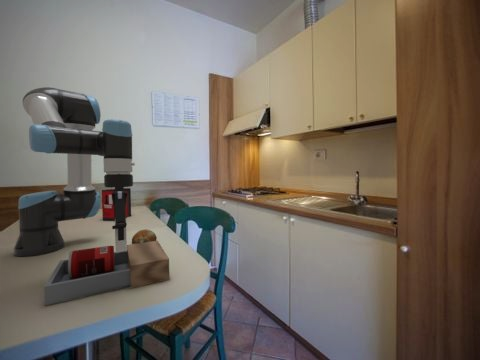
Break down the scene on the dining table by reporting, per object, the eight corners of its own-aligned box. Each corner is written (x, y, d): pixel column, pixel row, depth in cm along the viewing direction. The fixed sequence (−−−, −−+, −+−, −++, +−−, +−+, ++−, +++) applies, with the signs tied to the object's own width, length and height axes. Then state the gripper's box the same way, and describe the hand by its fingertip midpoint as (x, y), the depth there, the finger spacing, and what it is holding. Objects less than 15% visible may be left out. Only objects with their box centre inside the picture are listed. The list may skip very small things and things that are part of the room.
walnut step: (130, 288, 61) (130, 265, 60) (127, 262, 78) (126, 245, 78) (169, 279, 66) (169, 258, 65) (157, 256, 83) (157, 240, 83)
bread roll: (158, 250, 100) (163, 232, 103) (143, 247, 92) (149, 227, 95) (140, 248, 104) (145, 230, 107) (124, 245, 95) (130, 226, 98)
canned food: (113, 245, 75) (72, 251, 70) (113, 244, 68) (68, 250, 63) (114, 270, 73) (72, 278, 68) (114, 271, 66) (67, 280, 61)
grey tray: (44, 305, 53) (44, 286, 53) (60, 275, 69) (60, 260, 68) (130, 286, 62) (130, 270, 61) (127, 263, 77) (127, 250, 77)
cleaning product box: (115, 221, 146) (114, 190, 145) (102, 220, 147) (101, 190, 146) (131, 216, 162) (130, 188, 161) (119, 216, 163) (118, 188, 162)
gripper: (136, 173, 58) (138, 255, 59) (130, 173, 80) (131, 233, 81) (101, 173, 55) (104, 261, 55) (105, 173, 77) (107, 236, 77)
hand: (120, 244), depth 68 cm, fingers open, 13 cm apart
